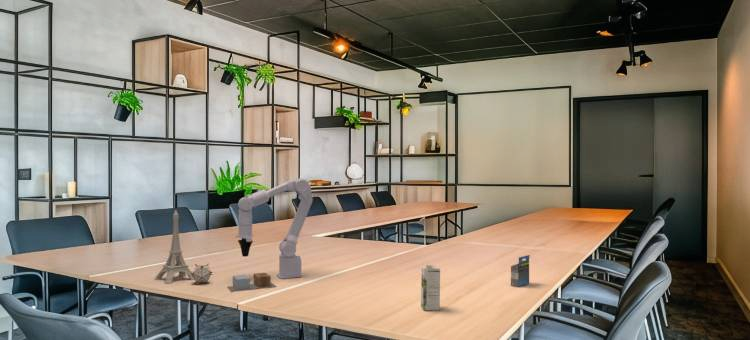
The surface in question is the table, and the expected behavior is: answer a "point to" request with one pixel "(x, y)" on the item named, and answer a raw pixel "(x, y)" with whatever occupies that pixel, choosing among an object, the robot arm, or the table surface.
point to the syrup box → (430, 288)
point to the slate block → (241, 282)
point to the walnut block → (262, 279)
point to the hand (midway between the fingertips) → (245, 256)
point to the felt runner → (252, 286)
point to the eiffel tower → (175, 258)
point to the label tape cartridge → (520, 272)
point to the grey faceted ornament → (201, 273)
